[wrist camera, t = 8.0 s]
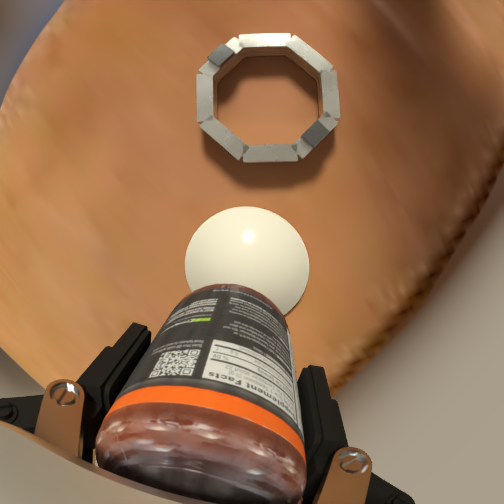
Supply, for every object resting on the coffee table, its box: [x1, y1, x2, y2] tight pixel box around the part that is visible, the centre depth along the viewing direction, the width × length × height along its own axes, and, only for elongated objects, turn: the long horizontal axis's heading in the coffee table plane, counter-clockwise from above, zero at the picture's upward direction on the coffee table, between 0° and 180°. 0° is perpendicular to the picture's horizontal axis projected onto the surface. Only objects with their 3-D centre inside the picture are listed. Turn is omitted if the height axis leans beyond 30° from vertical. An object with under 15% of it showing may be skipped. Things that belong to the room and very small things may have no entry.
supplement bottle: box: [95, 284, 307, 504], centre depth 9 cm, size 6×6×11 cm
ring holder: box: [197, 33, 340, 163], centre depth 19 cm, size 10×10×3 cm
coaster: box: [185, 206, 309, 315], centre depth 24 cm, size 10×10×1 cm
